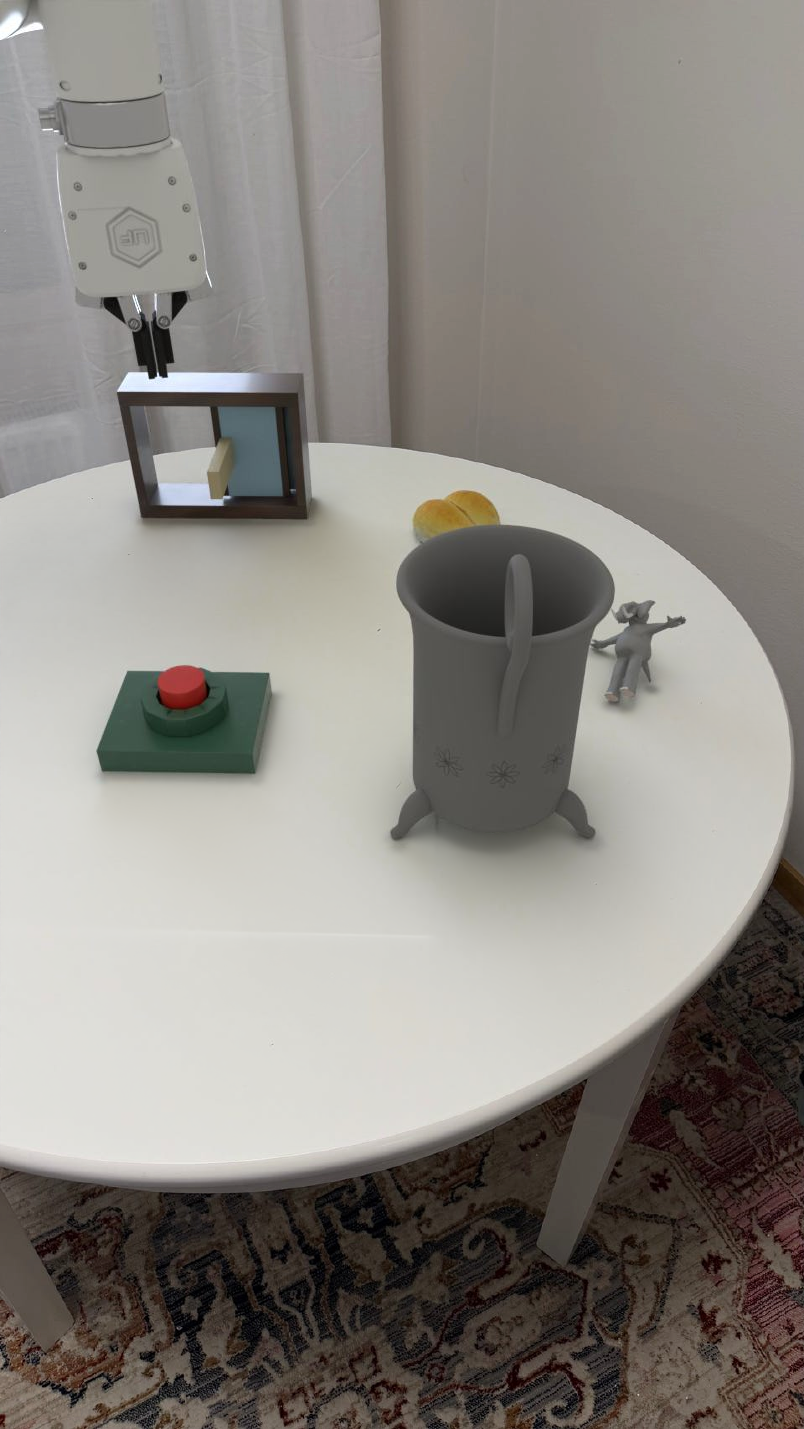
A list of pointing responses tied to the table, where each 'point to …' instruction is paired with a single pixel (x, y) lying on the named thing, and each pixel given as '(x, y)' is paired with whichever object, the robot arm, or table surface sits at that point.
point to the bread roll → (453, 514)
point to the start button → (182, 687)
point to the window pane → (249, 452)
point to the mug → (499, 673)
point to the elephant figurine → (632, 646)
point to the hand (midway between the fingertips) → (157, 372)
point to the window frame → (215, 393)
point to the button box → (187, 726)
